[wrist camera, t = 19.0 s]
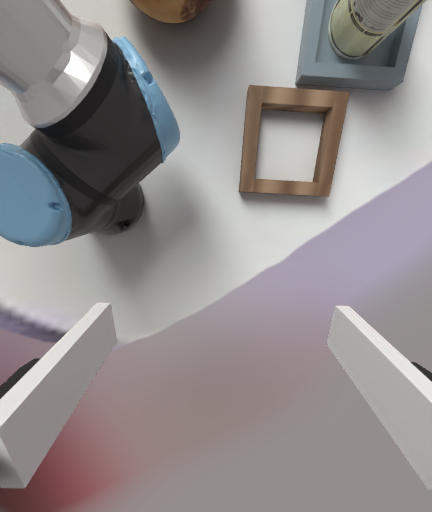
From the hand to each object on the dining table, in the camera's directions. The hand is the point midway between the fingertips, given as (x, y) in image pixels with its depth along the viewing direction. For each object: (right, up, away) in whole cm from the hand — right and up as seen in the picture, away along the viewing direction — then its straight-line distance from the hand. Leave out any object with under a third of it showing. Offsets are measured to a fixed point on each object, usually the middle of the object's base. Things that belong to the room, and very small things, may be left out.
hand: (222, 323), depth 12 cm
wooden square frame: (+14, +26, +30) cm, 42 cm away
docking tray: (+24, +45, +25) cm, 56 cm away
